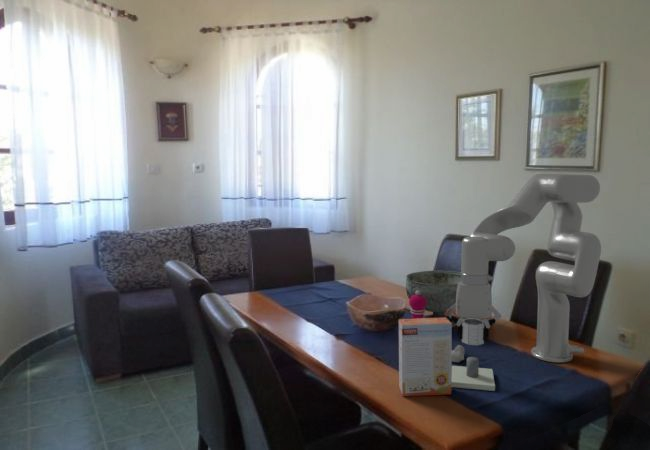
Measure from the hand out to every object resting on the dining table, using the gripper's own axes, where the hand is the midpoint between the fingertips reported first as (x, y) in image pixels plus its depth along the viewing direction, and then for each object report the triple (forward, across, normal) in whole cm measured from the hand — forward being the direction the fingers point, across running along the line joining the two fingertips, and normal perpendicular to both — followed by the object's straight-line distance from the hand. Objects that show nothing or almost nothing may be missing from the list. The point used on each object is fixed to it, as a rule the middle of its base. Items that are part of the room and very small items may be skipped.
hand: (472, 338), depth 148 cm
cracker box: (+13, +13, +10) cm, 21 cm away
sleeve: (+1, 0, 0) cm, 1 cm away
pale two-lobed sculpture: (+13, +4, -15) cm, 21 cm away
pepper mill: (+13, +18, -25) cm, 34 cm away
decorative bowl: (+13, +12, -51) cm, 54 cm away
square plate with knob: (+13, 0, 0) cm, 13 cm away
